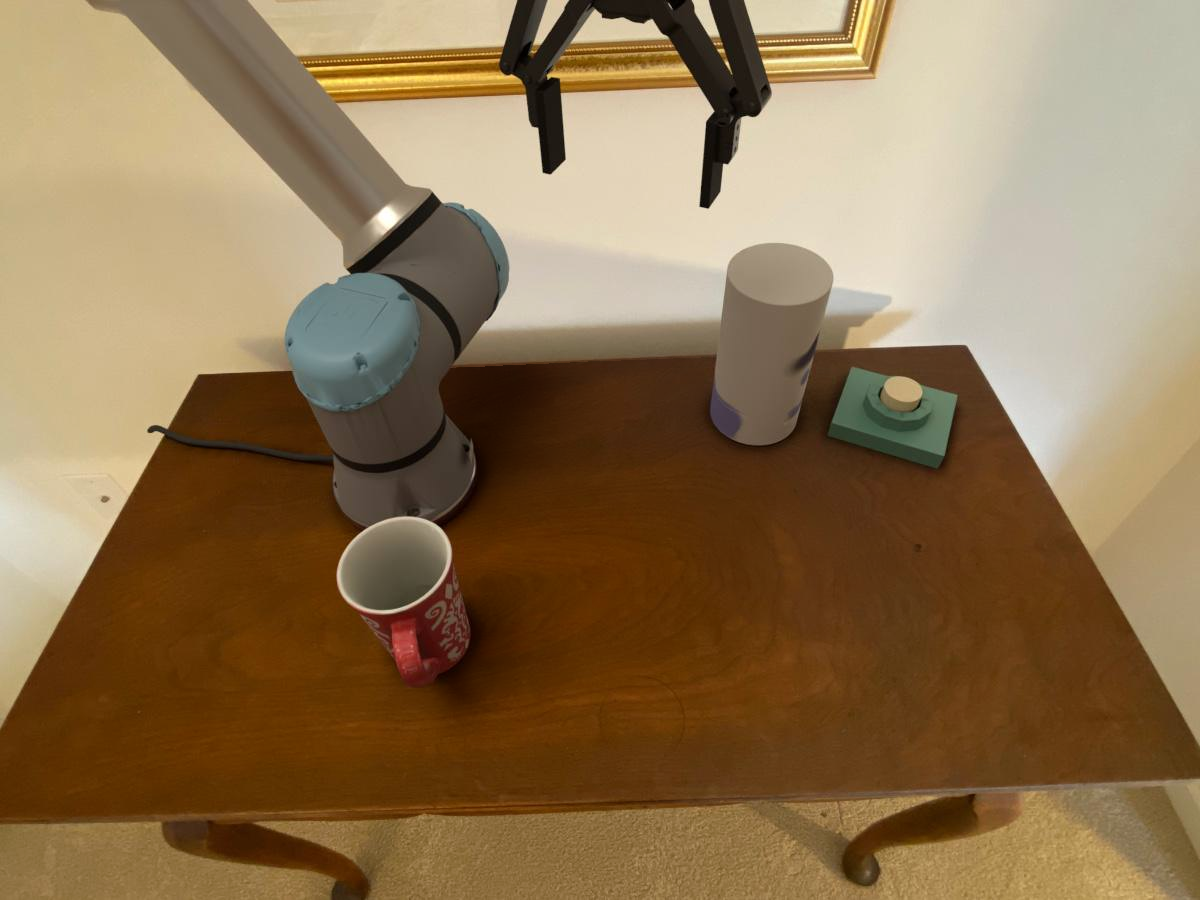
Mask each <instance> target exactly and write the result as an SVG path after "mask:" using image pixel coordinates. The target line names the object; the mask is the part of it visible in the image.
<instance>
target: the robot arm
mask: <svg viewBox="0 0 1200 900" xmlns="http://www.w3.org/2000/svg"><path fill="white" fill-rule="evenodd" d="M85 1H86V2H87V4H88V5H90V6H91V8H93V9H94V10H97V11H100V12H107V13H111V14H112V13H113V14H118V15H121V16H124V17H126V18H127V19H128V20H129V21H130V22H131V23H132V24H133V25H134V26H135V27H136V28H137V29H138V30H139V32H140V33H142V35H143V36H144V37H145V38H146V39H147V40H148V41H149V42H150V43H151V45H153V46H154V47H155V48H156V50H157V51H158V52H159V53H160V54H161V55H162V56H163V57H164V58H165V59H166V60H167V61H168V62H169V63H170V64H171V65H172V66H173V67H174V68H175V70H177V72H179V73H180V74H181V75H182V76H183V78H184V79H185V80H186V81H187V82H188V84H190V85H191V86H192V87H193V88H194V90H196V92H198V94H200V96H201V97H202V98H203V99H204V100H205V101H206V102H207V103H208V104H209V105H210V106H211V108H213V109H214V111H216V112H217V113H218V114H219V115H220V117H221V118H222V119H223V120H224V121H225V122H226V123H227V124H228V125H229V126H230V127H231V128H232V130H234V131H235V133H237V134H238V136H240V138H242V140H244V142H245V143H246V144H247V145H248V146H249V147H250V148H251V149H252V150H253V152H254V153H256V154H257V155H258V156H259V157H260V158H261V160H262V161H263V162H264V163H265V164H266V165H267V166H268V167H269V168H270V169H271V170H272V171H273V172H274V173H275V174H276V175H277V176H278V178H279V179H280V180H281V181H282V182H283V183H285V185H286V186H287V187H288V188H289V189H290V190H291V191H292V192H293V193H294V194H295V196H297V197H298V199H300V201H301V202H303V204H304V205H305V206H306V207H307V208H308V209H309V210H310V211H311V212H312V213H313V214H314V216H316V218H317V219H319V220H320V222H321V223H322V224H323V225H324V226H325V227H326V228H327V229H328V230H329V231H330V232H331V233H332V234H333V235H334V236H335V238H337V239H338V240H339V242H340V243H341V246H342V265H343V268H344V269H345V270H346V271H347V272H348V273H349V274H346V275H342V276H339V277H338V278H337V280H336V282H335V283H330V282H325V283H323V284H321V285H319V286H317V287H315V288H314V289H313V290H312V291H311V292H309V293H308V294H306V295H305V297H303V299H302V300H300V302H299V303H298V304H297V305H296V307H295V308H294V309H293V311H292V313H291V315H290V317H289V319H288V321H287V324H286V328H285V332H284V349H285V353H286V358H287V360H288V362H289V364H290V366H291V370H292V376H293V379H294V382H295V384H296V386H297V389H298V390H299V392H300V393H301V394H302V395H303V396H304V397H305V399H306V401H307V403H308V405H309V407H310V409H311V412H312V413H313V415H314V417H315V420H316V421H317V423H318V425H319V427H320V430H321V431H322V433H323V435H324V437H325V440H326V441H327V444H328V446H329V447H330V449H331V451H332V453H333V454H305V453H304V454H303V453H294V452H289V451H283V450H279V449H275V448H271V447H266V446H261V445H255V444H252V443H251V444H250V443H244V442H238V441H237V442H236V441H225V440H209V439H199V438H193V437H187V436H184V435H181V434H178V433H176V432H174V431H173V430H170V429H168V428H166V427H164V426H162V425H159V424H153V425H149V427H148V428H147V430H146V432H147V433H149V434H153V433H155V432H158V433H160V434H162V435H163V436H164V435H165V436H167V437H168V438H171V439H173V440H174V441H177V442H180V443H182V444H187V445H192V446H199V447H205V448H207V447H208V448H220V449H234V450H243V451H250V452H254V453H260V454H264V455H268V456H273V457H277V458H282V459H287V460H294V461H299V462H300V461H301V462H331V463H333V468H334V470H333V475H332V491H333V496H334V499H335V501H336V503H337V505H338V507H339V509H340V511H341V513H342V515H343V516H344V517H345V519H346V520H347V521H348V522H349V524H351V525H352V526H353V527H354V528H356V529H358V530H359V531H361V532H362V531H364V530H365V529H367V528H368V527H370V526H372V525H374V524H376V523H378V522H381V521H383V520H387V519H390V518H395V517H403V516H410V517H418V518H423V519H426V520H429V521H431V522H433V523H435V524H436V525H438V526H439V527H441V526H443V525H444V524H446V523H447V522H449V521H450V520H452V519H453V518H455V516H456V515H458V514H459V513H460V512H461V511H462V510H463V509H464V507H465V506H466V505H467V504H468V502H469V501H470V499H471V498H472V496H473V494H474V492H475V489H476V486H477V482H478V476H479V469H478V468H479V467H478V463H477V460H476V459H477V458H476V455H475V451H474V444H473V439H472V438H470V440H469V439H468V438H467V436H466V435H465V434H464V433H463V432H462V431H461V430H460V429H459V428H458V426H457V425H456V424H455V423H454V422H453V420H451V419H450V417H448V415H447V414H446V412H445V408H444V404H443V401H442V398H441V395H440V391H439V389H440V388H439V387H440V384H441V382H442V381H443V378H444V377H445V376H446V375H447V373H448V372H449V371H450V369H451V368H452V366H453V365H454V364H455V362H456V361H457V360H458V359H459V358H460V356H461V355H462V353H463V352H464V351H465V350H466V348H467V347H468V345H469V344H470V342H471V341H472V340H473V339H474V337H475V336H476V335H477V333H478V332H479V331H480V330H481V328H482V326H483V325H485V323H486V322H488V321H489V319H490V318H492V316H493V315H494V313H495V311H496V310H497V308H498V306H499V303H500V301H501V299H502V298H503V296H504V295H505V293H506V291H507V288H508V285H509V282H510V260H509V256H508V253H507V249H506V246H505V244H504V242H503V240H502V238H501V236H500V235H499V233H498V232H497V230H496V229H495V228H494V226H493V225H492V224H491V223H490V221H488V219H486V218H485V217H484V216H483V215H482V214H481V213H479V212H478V211H476V210H475V209H473V208H468V209H466V208H465V205H464V204H461V203H458V202H452V201H451V202H442V201H441V200H440V199H439V197H438V196H437V195H436V194H435V193H434V191H432V189H431V188H428V187H422V186H421V187H420V186H414V185H410V184H408V183H406V182H405V181H404V180H403V179H402V178H401V176H400V175H399V174H398V173H397V172H396V170H394V169H393V167H392V166H391V164H389V162H387V160H386V159H385V158H384V157H383V156H382V154H381V153H380V152H379V151H378V150H377V149H376V147H375V146H374V145H373V144H372V143H371V142H370V140H369V139H368V138H367V137H366V136H365V135H364V134H363V132H362V131H361V130H360V129H359V128H358V127H357V125H356V124H355V123H354V122H353V121H352V120H351V118H350V117H349V116H348V115H347V114H346V112H345V111H344V110H343V109H342V108H341V107H340V105H338V103H336V101H335V100H334V99H333V98H332V97H331V95H330V94H329V93H328V91H327V90H325V88H324V87H323V86H322V85H321V84H320V82H319V81H318V80H317V79H316V78H315V77H314V76H313V74H312V73H311V72H310V71H309V70H308V69H307V67H306V66H305V65H304V64H303V63H302V62H301V60H299V58H298V57H297V55H295V53H293V51H292V50H291V49H290V48H289V46H288V45H286V43H285V42H284V41H283V40H282V38H280V36H279V35H278V34H277V32H275V30H273V28H272V27H271V25H270V24H269V23H268V21H266V20H265V19H264V17H263V16H262V15H261V14H260V13H259V12H258V10H257V9H256V8H255V7H254V6H253V5H252V3H251V2H250V1H249V0H85ZM548 1H549V0H516V3H515V6H514V8H513V9H514V10H513V13H512V17H511V20H510V23H509V27H508V30H507V34H506V38H505V41H504V44H503V47H502V51H501V55H500V58H499V61H498V68H499V70H500V72H501V73H502V74H503V75H504V76H506V77H507V76H508V77H509V76H511V75H512V76H514V77H516V78H517V79H519V80H520V81H521V84H522V85H523V86H524V89H525V97H526V106H527V107H526V108H527V115H528V122H529V124H530V127H531V128H537V130H538V131H537V132H538V140H539V152H540V160H541V170H542V174H546V175H549V176H550V175H552V174H553V173H554V172H556V170H558V168H559V167H560V166H561V165H562V164H563V163H564V162H565V161H566V160H567V156H566V142H565V130H564V116H563V102H562V90H561V78H560V77H554V76H551V77H549V78H548V75H549V74H550V73H552V72H553V71H554V67H555V66H556V64H558V62H559V60H560V59H561V58H562V56H563V55H564V53H565V52H566V51H567V49H568V48H569V46H570V45H571V43H572V42H573V41H574V39H575V37H576V36H577V35H578V34H579V32H580V31H581V29H582V28H583V26H584V25H585V23H586V22H587V21H588V19H589V18H590V17H591V15H592V14H593V13H594V11H596V12H597V13H599V14H600V15H601V19H606V20H616V19H625V20H627V21H630V22H632V23H636V24H643V25H645V24H646V23H647V22H649V21H651V20H652V21H653V23H654V25H655V26H656V27H657V29H658V31H659V32H660V33H661V34H662V35H663V36H666V37H667V38H668V39H669V41H670V43H671V45H672V46H673V47H674V49H675V51H676V52H677V54H678V55H679V57H680V58H681V60H682V62H683V64H684V65H685V66H686V68H687V70H688V71H689V73H690V75H691V76H692V77H693V79H694V80H695V82H696V84H697V85H698V87H699V89H700V90H701V93H702V94H703V96H704V97H705V98H706V100H707V102H708V103H709V105H710V107H711V108H712V110H713V112H712V113H711V115H710V116H709V117H708V118H707V119H706V121H705V129H704V143H703V155H702V168H701V181H700V194H699V205H698V207H699V208H703V209H706V210H707V209H710V207H712V205H713V204H714V202H715V201H716V199H717V197H718V196H719V195H720V193H721V190H722V180H723V169H724V165H729V164H730V163H731V161H732V160H733V159H734V157H735V155H736V154H737V152H738V150H739V142H740V133H741V125H742V118H744V117H750V118H756V117H758V116H759V115H760V114H761V112H763V110H764V108H765V107H766V106H767V104H768V103H769V101H770V100H771V99H772V95H773V93H772V92H773V91H772V88H771V84H770V81H769V77H768V73H767V71H766V67H765V65H764V61H763V58H762V54H761V51H760V47H759V45H758V41H757V38H756V34H755V32H754V28H753V25H752V22H751V18H750V16H749V12H748V9H747V6H746V2H745V0H708V4H709V7H710V8H709V9H710V11H711V14H712V17H713V20H714V23H715V26H716V29H717V32H718V36H719V39H720V41H721V45H722V48H723V50H724V54H725V57H726V60H727V63H728V65H727V64H726V62H725V60H724V58H723V57H722V55H721V53H720V52H719V50H718V49H717V47H716V45H715V43H714V42H713V40H712V38H711V36H710V35H709V34H708V32H707V30H706V28H705V27H704V25H703V23H702V21H701V20H700V18H699V16H698V15H697V13H696V11H695V9H696V7H695V3H694V2H693V0H568V1H567V3H566V4H565V5H564V7H563V10H562V13H561V14H560V15H559V17H558V18H557V20H556V21H555V23H554V24H553V26H552V28H551V29H550V30H549V32H548V34H547V35H546V37H545V38H544V40H543V41H542V42H541V44H540V46H539V47H538V48H537V50H536V51H535V53H534V55H533V56H531V52H532V50H533V46H534V44H535V41H536V37H537V34H538V31H539V29H540V25H541V22H542V19H543V16H544V13H545V10H546V7H547V4H548Z"/></svg>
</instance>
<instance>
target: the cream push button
mask: <svg viewBox="0 0 1200 900" xmlns="http://www.w3.org/2000/svg"><path fill="white" fill-rule="evenodd" d="M896 376H897V377H892V378H890V379H888V380H887V381H886V382H885V384H884V387H883V390H882V392H881V395H880V399H881V402H882V403H883V404H884V405H885V406H886V407H888V408H889V409H890V410H894V411H897V412H901V413H906V412H911V411H913V410H915V409H916V407H917V406H918V403H919V401H920V399H921V396H922V393H923V392H922V388H921V386H920V385H921V384H920V383H919V382H917V381H916V380H914V379H912V378H910V377H907V376H902V375H901V376H900V375H896ZM918 383H919V384H920V385H919V384H918Z"/></svg>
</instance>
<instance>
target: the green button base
mask: <svg viewBox="0 0 1200 900" xmlns="http://www.w3.org/2000/svg"><path fill="white" fill-rule="evenodd" d="M897 376H898V375H884V374H882V373H881V374H880V373H877V372H874V371H871V370H870V371H869V370H866V369H862V368H859V367H855V366H851V367H850V370H849V373H848V375H847V378H846V380H845V384H844V386H843V389H842V392H841V395H840V397H839V400H838V403H837V406H836V409H835V411H834V414H833V417H832V420H831V422H830V425H829V429H828V432H827V436H828V437H830V438H833V439H837V440H840V441H844V442H846V443H850V444H853V445H857V446H860V447H863V448H867V449H870V450H873V451H876V452H880V453H883V454H887V455H890V456H893V457H895V458H900V459H903V460H906V461H910V462H912V463H915V464H920V465H923V466H926V467H930V468H933V469H936V470H938V469H939V467H941V464H942V462H943V460H944V458H945V456H946V450H947V447H948V441H949V437H950V433H951V428H952V424H953V418H954V416H955V415H954V414H955V411H956V410H955V409H956V406H957V401H958V394H955V393H952V392H947V391H944V390H940V389H937V388H932V387H929V386H926V385H922V384H920V383H919V382H917V383H918V384H919V385H920V386H921V388H922V392H923V393H922V396H921V399H920V401H919V403H918V406H917V407H916V409H915V410H913V411H911V412H906V413H901V412H897V411H894V410H890V409H889V408H888V407H886V406H885V405H884V404H883V403H882V402H881V399H880V395H881V392H882V390H883V387H884V384H885V382H886V381H887V380H888V379H890V378H892V377H897Z"/></svg>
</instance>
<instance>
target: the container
mask: <svg viewBox="0 0 1200 900" xmlns="http://www.w3.org/2000/svg"><path fill="white" fill-rule="evenodd" d="M834 279H835V278H834V272H833V269H832V267H831V266H830V264H829V262H827V261H826V260H825V259H824V258H823V257H822V256H821V255H820V254H818V253H816V252H815V251H812V250H810V249H808V248H805V247H802V246H799V245H797V244H791V243H785V242H764V243H759V244H754V245H750V246H748V247H745V248H743V249H742V250H740V251H738V252H737V253H735V255H733V256H732V258H731V259H730V260H729V262H728V264H727V269H726V277H725V284H724V285H725V286H724V292H723V293H724V295H723V301H722V310H721V317H720V326H719V334H718V342H717V349H716V350H717V351H716V360H715V366H714V377H713V383H712V391H711V400H710V408H709V412H710V414H709V415H710V418H711V421H712V423H713V424H714V426H715V428H716V429H717V430H718V431H719V432H720V433H722V434H723V435H724V436H725V437H727V438H728V439H730V440H733V441H735V442H737V443H740V444H744V445H748V446H749V445H750V446H768V445H772V444H776V443H778V442H780V441H783V440H784V439H786V438H788V436H790V434H792V433H793V431H794V429H795V428H796V425H797V422H798V418H799V414H800V412H801V411H800V410H801V406H802V403H803V398H804V395H805V391H806V387H807V384H808V380H809V376H810V372H811V368H812V365H813V361H814V357H815V352H816V349H817V347H818V346H817V345H818V341H819V337H820V333H821V329H822V326H823V323H824V318H825V314H826V311H827V307H828V304H829V299H830V295H831V292H832V288H833V284H834Z"/></svg>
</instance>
